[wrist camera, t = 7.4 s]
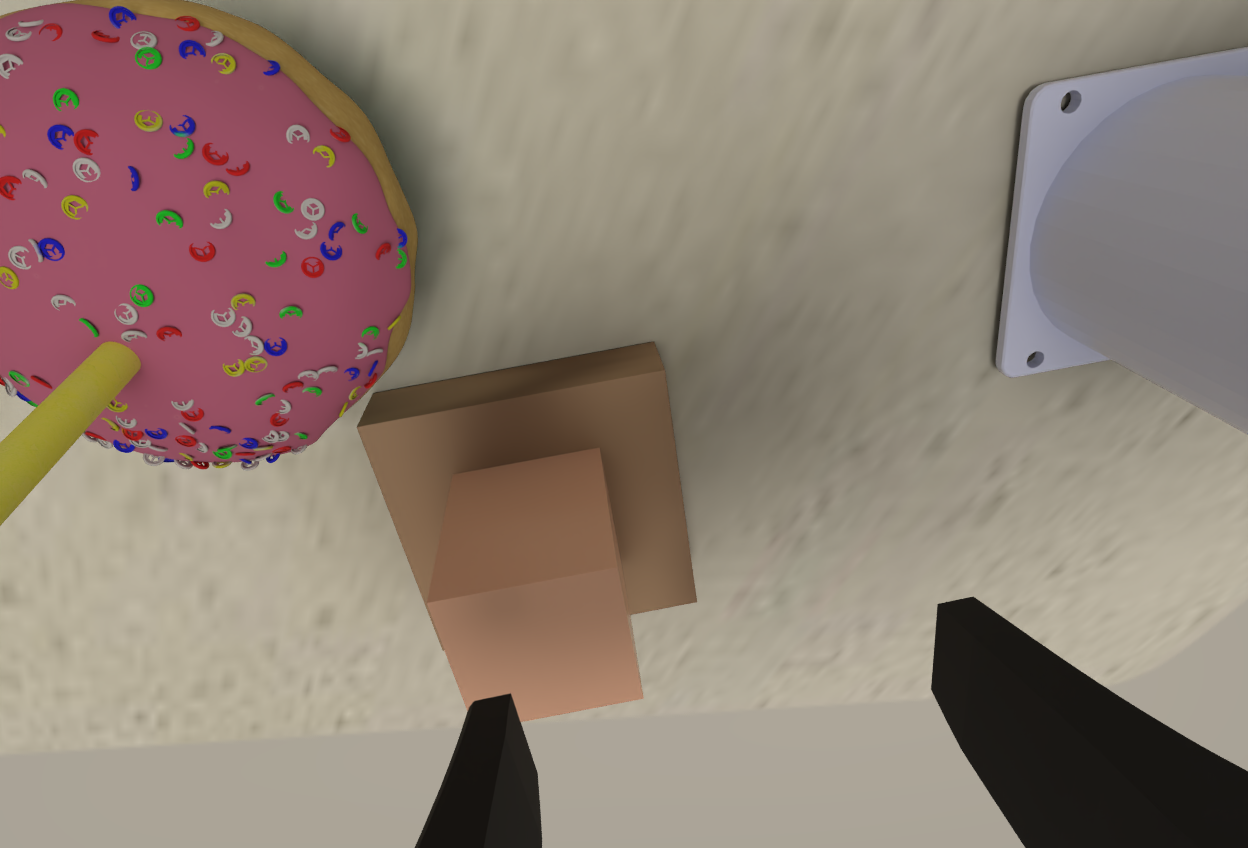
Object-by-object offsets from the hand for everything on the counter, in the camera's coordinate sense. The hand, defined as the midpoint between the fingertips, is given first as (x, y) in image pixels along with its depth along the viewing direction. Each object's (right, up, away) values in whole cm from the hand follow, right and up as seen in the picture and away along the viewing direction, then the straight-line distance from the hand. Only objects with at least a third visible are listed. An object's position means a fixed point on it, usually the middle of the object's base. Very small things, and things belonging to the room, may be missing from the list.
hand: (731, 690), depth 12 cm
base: (-4, +3, +10) cm, 11 cm away
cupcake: (-11, +10, +6) cm, 16 cm away
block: (-4, +2, +8) cm, 9 cm away
